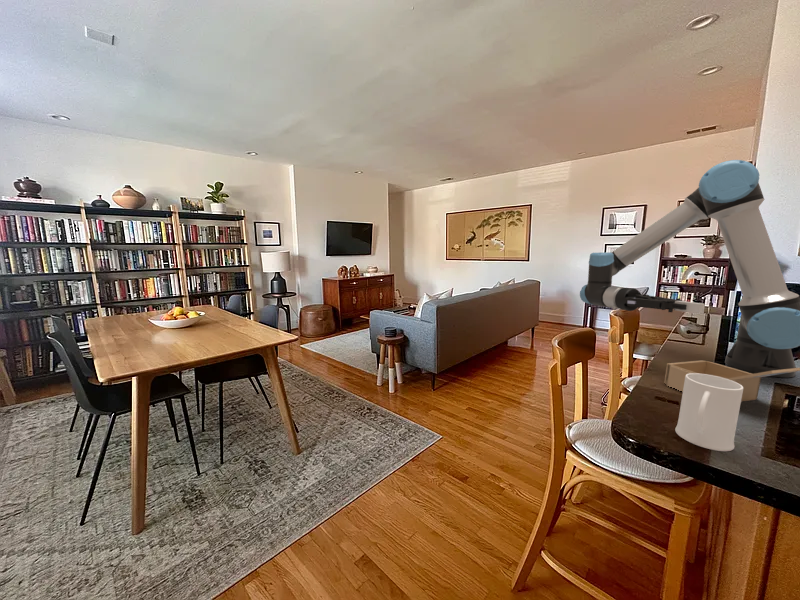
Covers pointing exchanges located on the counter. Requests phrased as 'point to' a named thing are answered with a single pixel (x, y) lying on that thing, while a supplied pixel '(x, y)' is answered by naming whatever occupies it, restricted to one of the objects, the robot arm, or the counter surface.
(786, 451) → the counter surface
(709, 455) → the counter surface
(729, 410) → the mug
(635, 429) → the counter surface
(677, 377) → the carton
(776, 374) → the flap
